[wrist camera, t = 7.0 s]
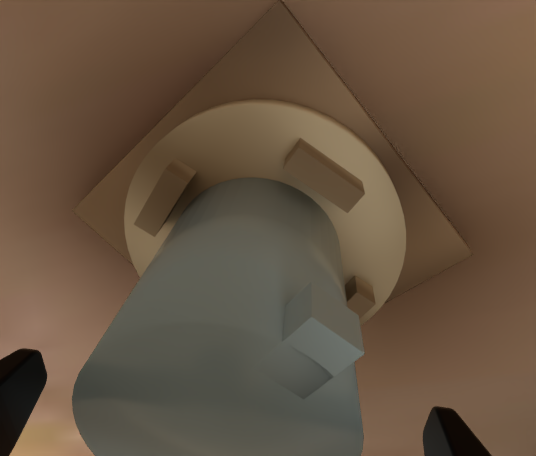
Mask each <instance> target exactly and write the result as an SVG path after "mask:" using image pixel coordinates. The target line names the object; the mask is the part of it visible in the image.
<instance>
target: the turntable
mask: <svg viewBox="0 0 536 456" xmlns="http://www.w3.org/2000/svg"><path fill="white" fill-rule="evenodd" d="M252 177H256V178H265V179H271V180H275V181H279V182H282V183H285V184H288V185H290V186H292V187H294V188H296V189H298V190H300V191H302V192H303V193H305V194H306V195H308V196H309V197H311V198H312V199H313V200H314V201H315V202H316V203H317V204H318V205H320V207H321V208H322V209H323V210H324V211H325V213H326V214H327V215H328V217H329V218H330V220H331V222H332V223H333V225H334V228H335V230H336V232H337V235H338V239H339V243H340V251H341V259H342V267H343V275H344V283H345V291H346V299H347V307H348V308H349V309H350V310H352V311H353V312H354V313H356V314H357V315H359V321H360V326H362V325H363V324H364V323H365V322H367V321H368V320H369V319H370V318H371V317H372V316H373V315H374V314H375V313H376V312H377V311H378V310H379V309H380V308H381V307H382V305H383V304H384V303H385V301H386V300H387V299H388V297H389V296H390V294H391V292H392V290H393V289H394V287H395V285H396V283H397V281H398V278H399V275H400V273H401V270H402V267H403V262H404V257H405V252H406V227H405V219H404V214H403V211H402V207H401V204H400V200H399V197H398V195H397V192H396V190H395V187H394V185H393V183H392V181H391V179H390V177H389V174H388V172H387V170H386V169H385V167H384V166H383V164H382V163H381V161H380V160H379V158H378V157H377V155H376V154H375V153H374V152H373V151H372V149H371V148H370V147H369V146H368V145H367V144H366V143H365V142H364V141H363V140H362V139H361V138H360V137H359V136H358V135H356V134H355V133H354V132H353V131H352V130H350V129H349V128H348V127H346V126H345V125H343V124H341V123H340V122H338V121H337V120H335V119H334V118H332V117H330V116H328V115H326V114H323V113H321V112H319V111H317V110H314V109H312V108H309V107H305V106H302V105H299V104H295V103H291V102H284V101H278V100H264V99H251V100H242V101H233V102H229V103H225V104H222V105H218V106H214V107H212V108H209V109H207V110H204V111H202V112H200V113H197V114H195V115H194V116H192V117H191V118H189V119H187V120H186V121H184V122H182V123H181V124H179V125H178V126H177V127H176V128H174V129H173V130H172V131H171V132H170V133H168V134H167V135H166V136H165V137H164V138H162V139H161V140H160V141H159V142H158V143H157V144H156V145H155V146H154V147H153V148H152V149H151V150H150V152H149V153H148V154H147V155H146V156H145V158H144V159H143V161H142V162H141V164H140V166H139V167H138V169H137V170H136V172H135V175H134V177H133V179H132V182H131V184H130V186H129V190H128V194H127V198H126V203H125V213H124V227H125V237H126V242H127V247H128V251H129V254H130V257H131V260H132V263H133V265H134V267H135V269H136V271H137V273H138V275H139V277H140V278H141V276H142V275H143V273H144V272H145V270H146V268H147V267H148V265H149V264H150V262H151V261H152V259H153V258H154V256H155V254H156V253H157V251H158V250H159V248H160V247H161V245H162V244H163V242H164V240H165V239H166V237H167V236H168V234H169V233H170V231H171V230H172V228H173V226H174V225H175V223H176V222H177V220H178V219H179V217H180V216H181V214H182V213H183V211H184V209H185V208H186V207H187V205H188V204H189V203H190V202H191V201H192V200H193V199H194V198H195V197H196V196H198V195H199V194H200V193H201V192H203V191H204V190H206V189H208V188H209V187H211V186H214V185H216V184H218V183H221V182H224V181H228V180H231V179H238V178H252Z"/></svg>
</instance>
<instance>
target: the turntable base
mask: <svg viewBox="0 0 536 456" xmlns="http://www.w3.org/2000/svg"><path fill="white" fill-rule="evenodd" d="M251 99H264V100H278V101H284V102H291V103H295V104H299V105H302V106H305V107H309V108H312V109H314V110H317V111H319V112H321V113H323V114H326V115H328V116H330V117H332V118H334V119H335V120H337V121H338V122H340V123H341V124H343V125H345V126H346V127H348V128H349V129H350V130H352V131H353V132H354V133H355V134H356V135H358V136H359V137H360V138H361V139H362V140H363V141H364V142H365V143H366V144H367V145H368V146H369V147H370V148H371V149H372V151H373V152H374V153H375V154H376V155H377V157H378V158H379V160H380V161H381V163H382V164H383V166H384V167H385V169H386V170H387V172H388V174H389V177H390V179H391V181H392V183H393V185H394V187H395V190H396V192H397V195H398V197H399V200H400V204H401V207H402V211H403V214H404V219H405V227H406V252H405V257H404V262H403V267H402V270H401V273H400V275H399V278H398V281H397V283H396V285H395V287H394V289H393V290H392V292H391V294H390V296H389V297H388V299H387V300H386V301H385V303H386V302H388V301H390V300H392V299H393V298H395V297H397V296H399V295H401V294H402V293H404V292H406V291H408V290H410V289H412V288H413V287H415V286H417V285H419V284H421V283H422V282H424V281H426V280H428V279H430V278H432V277H433V276H435V275H437V274H439V273H441V272H442V271H444V270H446V269H448V268H450V267H452V266H453V265H455V264H457V263H459V262H461V261H462V260H464V259H466V258H468V257H470V256H472V255H473V253H472V252H471V250H470V248H469V247H468V245H467V243H466V242H465V241H464V240H463V238H462V237H461V236H460V234H459V233H458V232H457V230H456V229H455V228H454V226H453V225H452V224H451V222H450V221H449V220H448V218H447V217H446V216H445V215H444V213H443V212H442V211H441V209H440V208H439V207H438V205H437V204H436V203H435V201H434V200H433V199H432V197H431V196H430V195H429V194H428V192H427V191H426V190H425V188H424V187H423V186H422V184H421V183H420V182H419V180H418V179H417V178H416V176H415V175H414V174H413V172H412V171H411V170H410V169H409V167H408V166H407V165H406V163H405V162H404V161H403V159H402V158H401V157H400V155H399V154H398V153H397V151H396V150H395V149H394V147H393V146H392V145H391V144H390V142H389V141H388V140H387V138H386V137H385V136H384V134H383V133H382V132H381V130H380V129H379V128H378V126H377V125H376V124H375V122H374V121H373V120H372V119H371V117H370V116H369V115H368V113H367V112H366V111H365V109H364V108H363V107H362V105H361V104H360V103H359V101H358V100H357V99H356V98H355V96H354V95H353V94H352V92H351V91H350V90H349V88H348V87H347V86H346V84H345V83H344V82H343V80H342V79H341V78H340V76H339V75H338V74H337V73H336V71H335V70H334V69H333V67H332V66H331V65H330V63H329V62H328V61H327V59H326V58H325V57H324V55H323V54H322V53H321V51H320V50H319V49H318V48H317V46H316V45H315V44H314V42H313V41H312V40H311V38H310V37H309V36H308V34H307V33H306V32H305V30H304V29H303V28H302V27H301V25H300V24H299V23H298V21H297V20H296V19H295V17H294V16H293V15H292V13H291V12H290V11H289V9H288V8H287V7H286V5H285V4H284V3H283V2H282V0H279V1H278V2H277V3H276V4H275V5H274V6H273V7H272V8H271V9H270V10H269V11H268V12H267V13H266V14H265V15H264V16H263V17H262V18H261V19H260V20H259V21H258V22H257V23H256V24H255V25H254V26H253V27H252V28H251V29H250V30H249V31H248V32H247V33H246V34H245V35H244V36H243V37H242V38H241V39H240V40H239V41H238V42H237V43H236V44H235V45H234V46H233V47H232V48H231V49H230V50H229V51H228V52H227V53H226V54H225V55H224V57H223V58H222V59H221V60H220V61H219V62H218V63H217V64H216V65H215V66H214V67H213V68H212V69H211V70H210V71H209V72H208V73H207V74H206V75H205V76H204V77H203V78H202V79H201V80H200V81H199V82H198V83H197V84H196V85H195V86H194V87H193V88H192V89H191V90H190V91H189V92H188V93H187V94H186V95H185V96H184V97H183V98H182V99H181V100H180V101H179V102H178V103H177V104H176V105H175V106H174V107H173V108H172V109H171V110H170V111H169V112H168V113H167V114H166V115H165V116H164V117H163V118H162V119H161V120H160V122H159V123H158V124H157V125H156V126H155V127H154V128H153V129H152V130H151V131H150V132H149V133H148V134H147V135H146V136H145V137H144V138H143V139H142V140H141V141H140V142H139V143H138V144H137V145H136V146H135V147H134V148H133V149H132V150H131V151H130V152H129V153H128V154H127V155H126V156H125V157H124V158H123V159H122V160H121V161H120V162H119V163H118V164H117V165H116V166H115V167H114V168H113V169H112V170H111V171H110V172H109V173H108V174H107V175H106V176H105V177H104V178H103V179H102V180H101V181H100V182H99V183H98V184H97V185H96V186H95V188H94V189H93V190H92V191H91V192H90V193H89V194H88V195H87V196H86V197H85V198H84V199H83V200H82V201H81V202H80V203H79V204H78V205H77V206H76V207H75V208H74V209H73V210H72V211H73V212H74V213H75V214H76V215H77V216H78V217H79V218H80V219H82V220H83V221H84V222H85V223H86V224H87V225H88V226H90V227H91V228H92V229H93V230H94V231H95V232H96V233H97V234H99V235H100V236H101V237H102V238H103V239H104V240H105V241H106V242H108V243H109V244H110V245H111V246H112V247H113V248H114V249H115V250H117V251H118V252H119V253H120V254H121V255H122V256H123V257H125V258H126V259H127V260H128V261H129V262H130V263H131V264H132V265H133V263H132V260H131V257H130V254H129V251H128V247H127V242H126V237H125V227H124V213H125V203H126V198H127V194H128V190H129V186H130V184H131V182H132V179H133V177H134V175H135V172H136V170H137V169H138V167H139V166H140V164H141V162H142V161H143V159H144V158H145V156H146V155H147V154H148V153H149V152H150V150H151V149H152V148H153V147H154V146H155V145H156V144H157V143H158V142H159V141H160V140H161V139H162V138H164V137H165V136H166V135H167V134H168V133H170V132H171V131H172V130H173V129H174V128H176V127H177V126H178V125H179V124H181V123H182V122H184V121H186V120H187V119H189V118H191V117H192V116H194V115H195V114H197V113H200V112H202V111H204V110H207V109H209V108H212V107H214V106H218V105H222V104H225V103H229V102H233V101H242V100H251Z"/></svg>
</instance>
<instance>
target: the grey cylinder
mask: <svg viewBox="0 0 536 456" xmlns="http://www.w3.org/2000/svg"><path fill="white" fill-rule="evenodd" d="M364 354H365V353H364V346H363V340H362V334H361V327H360V321H359V315H357V314H356V313H354V312H353V311H352V310H350V309H349V308H348V307H347V299H346V291H345V283H344V275H343V267H342V259H341V251H340V243H339V239H338V235H337V232H336V230H335V228H334V225H333V223H332V222H331V220H330V218H329V217H328V215H327V214H326V213H325V211H324V210H323V209H322V208H321V207H320V205H318V204H317V203H316V202H315V201H314V200H313V199H312V198H311V197H309V196H308V195H306V194H305V193H303V192H302V191H300V190H298V189H296V188H294V187H292V186H290V185H288V184H285V183H282V182H279V181H275V180H271V179H265V178H256V177H252V178H238V179H231V180H228V181H224V182H221V183H218V184H216V185H214V186H211V187H209V188H208V189H206V190H204V191H203V192H201V193H200V194H199V195H198V196H196V197H195V198H194V199H193V200H192V201H191V202H190V203H189V204H188V205H187V207H186V208H185V209H184V211H183V213H182V214H181V216H180V217H179V219H178V220H177V222H176V223H175V225H174V226H173V228H172V230H171V231H170V233H169V234H168V236H167V237H166V239H165V240H164V242H163V244H162V245H161V247H160V248H159V250H158V251H157V253H156V254H155V256H154V258H153V259H152V261H151V262H150V264H149V265H148V267H147V268H146V270H145V272H144V273H143V275H142V276H141V278H140V279H139V281H138V282H137V284H136V286H135V287H134V289H133V290H132V292H131V293H130V295H129V296H128V298H127V300H126V301H125V303H124V304H123V306H122V307H121V309H120V310H119V312H118V313H117V315H116V317H115V318H114V320H113V321H112V323H111V324H110V326H109V327H108V329H107V331H106V332H105V334H104V335H103V337H102V338H101V340H100V341H99V343H98V345H97V346H96V348H95V349H94V351H93V352H92V354H91V355H90V357H89V359H88V360H87V362H86V363H85V365H84V366H83V368H82V369H81V371H80V373H79V375H78V377H77V380H76V382H75V385H74V390H73V396H72V405H73V414H74V418H75V422H76V425H77V427H78V430H79V432H80V434H81V436H82V438H83V439H84V441H85V443H86V444H87V446H88V447H89V449H90V450H91V451H92V452H93V454H94V455H95V456H361V453H362V450H363V439H364V435H363V427H362V419H361V411H360V403H359V395H358V387H357V379H356V371H355V363H354V362H355V361H356V360H357V359H359V358H360V357H361V356H363V355H364Z"/></svg>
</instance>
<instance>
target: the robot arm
mask: <svg viewBox="0 0 536 456" xmlns="http://www.w3.org/2000/svg"><path fill="white" fill-rule="evenodd" d="M46 381H47V372H46V369H45V365H44V362H43V358H42V355H41V353H40V352H39V351H38V350H33V349H26V348H23V349H19V350H17V351H15V352H13V353H12V354H10V355H8V356H6V357H4V358H3V359H1V360H0V456H9V455H10V453H11V451H12V450H13V448H14V446H15V444H16V442H17V440H18V439H19V437H20V435H21V433H22V431H23V429H24V427H25V425H26V423H27V421H28V419H29V417H30V415H31V413H32V411H33V409H34V407H35V405H36V403H37V401H38V399H39V397H40V394H41V392H42V390H43V388H44V386H45V384H46ZM423 446H424V455H425V456H491V454H490V453H489V452H488V451H487V449H486V448H485V447H484V446H483V444H482V443H481V442H480V441H479V440H478V438H477V437H476V436H475V435H474V433H473V432H472V431H471V430H470V428H469V427H468V426H467V425H466V424H465V422H464V421H463V420H462V419H461V417H460V416H459V415H458V414H457V413H456V411H454V410H453V409H451V408H445V407H438V406H435V407H433V408H432V410H431V412H430V414H429V417H428V420H427V422H426V425H425V427H424V431H423Z"/></svg>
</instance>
